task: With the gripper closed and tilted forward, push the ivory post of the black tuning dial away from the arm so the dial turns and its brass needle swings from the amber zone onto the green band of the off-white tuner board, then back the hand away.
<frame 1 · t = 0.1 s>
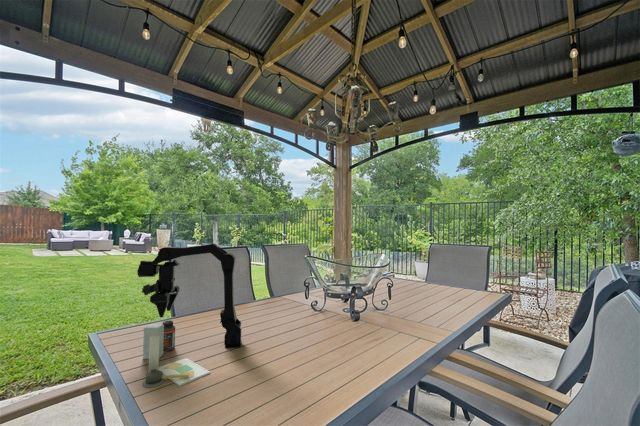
hand: (165, 313, 125), 15 cm above the table, tool pointing down, fingers open, 9 cm apart
tuner board: (154, 381, 98), on the table
supplement bottle: (166, 349, 124), on the table
peg dial: (164, 358, 101), point 7 cm above the table, hinge at 0.0°
skincare box: (153, 357, 117), on the table
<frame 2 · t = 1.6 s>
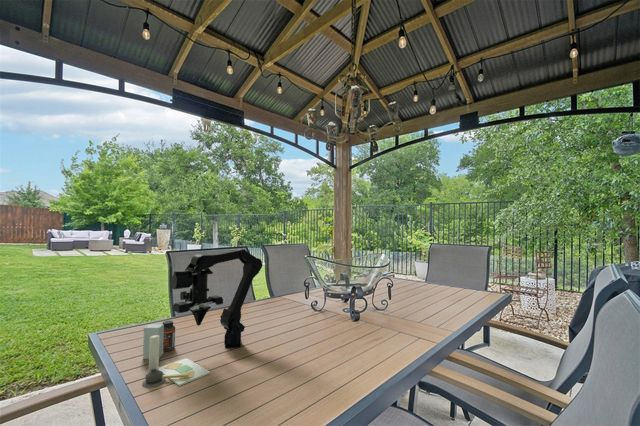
hand: (198, 325, 119), 12 cm above the table, tool pointing down, fingers closed
nothing on the table moved.
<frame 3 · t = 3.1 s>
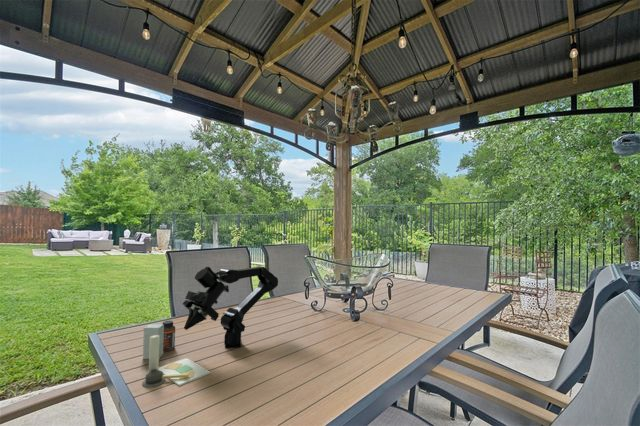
hand: (185, 329, 113), 12 cm above the table, tool tilted 45°, fingers closed
nothing on the table moved.
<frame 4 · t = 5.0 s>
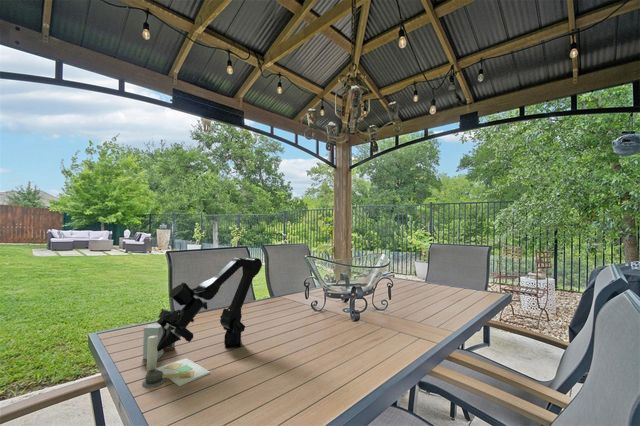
hand: (157, 350, 105), 7 cm above the table, tool tilted 45°, fingers closed, pressing on peg dial
peg dial: (164, 358, 101), point 7 cm above the table, hinge at 5.4°, touching gripper
everything else where it was.
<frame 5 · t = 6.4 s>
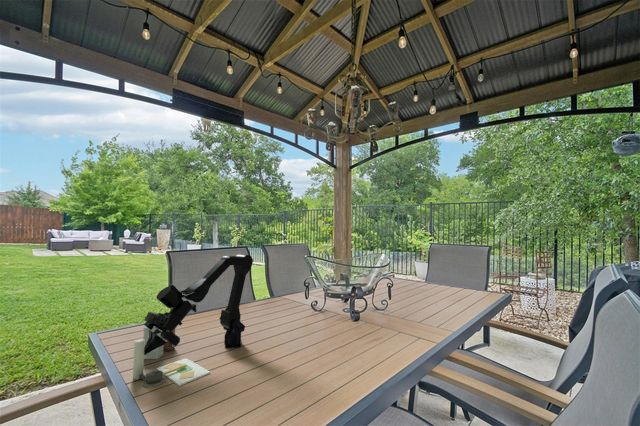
hand: (142, 354, 102), 7 cm above the table, tool tilted 45°, fingers closed
peg dial: (159, 357, 102), point 7 cm above the table, hinge at 44.8°, touching gripper
everything else where it was.
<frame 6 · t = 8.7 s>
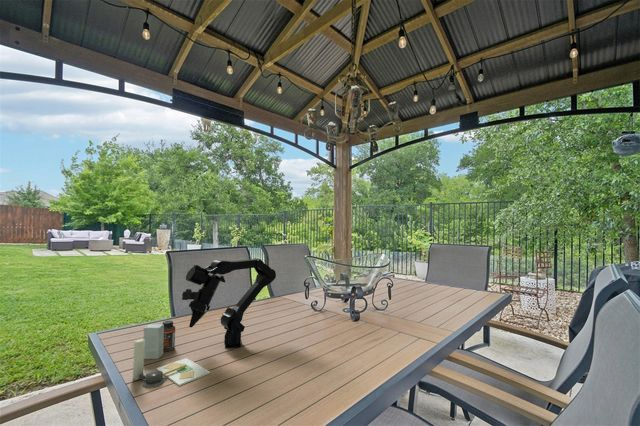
hand: (190, 327, 117), 12 cm above the table, tool tilted 25°, fingers closed
peg dial: (159, 357, 102), point 7 cm above the table, hinge at 44.9°
everything else where it was.
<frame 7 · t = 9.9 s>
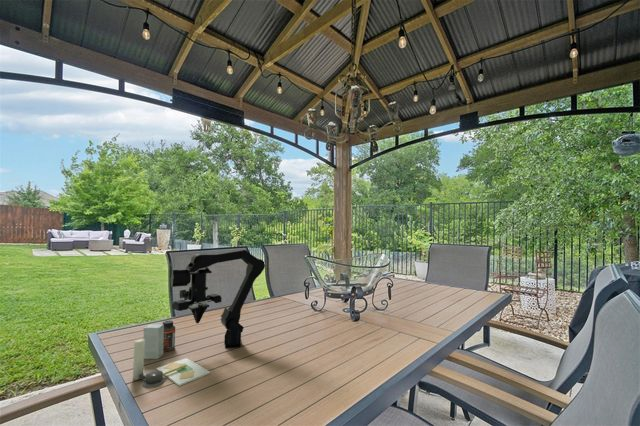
hand: (197, 323, 122), 12 cm above the table, tool pointing down, fingers closed
nothing on the table moved.
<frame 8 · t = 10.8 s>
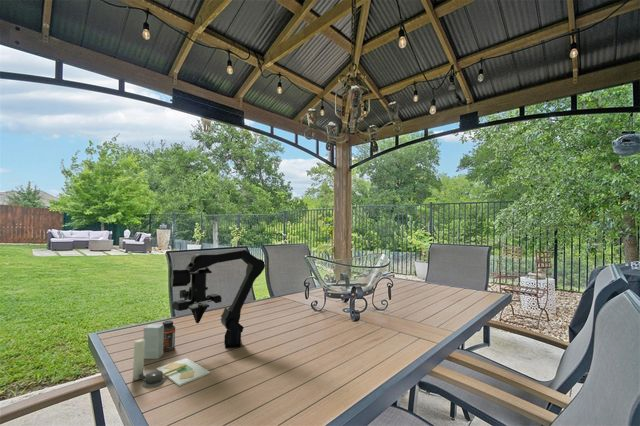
hand: (197, 323, 122), 12 cm above the table, tool pointing down, fingers closed
nothing on the table moved.
at the end: peg dial at +45° (first picture: +0°) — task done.
